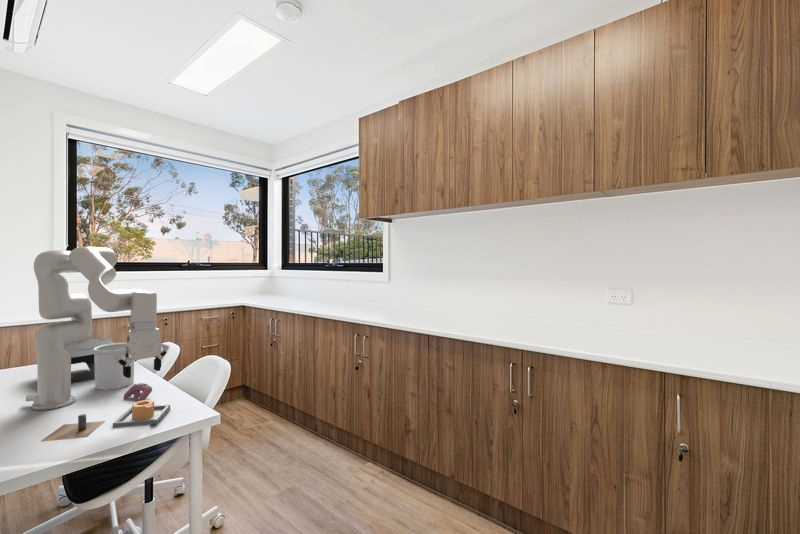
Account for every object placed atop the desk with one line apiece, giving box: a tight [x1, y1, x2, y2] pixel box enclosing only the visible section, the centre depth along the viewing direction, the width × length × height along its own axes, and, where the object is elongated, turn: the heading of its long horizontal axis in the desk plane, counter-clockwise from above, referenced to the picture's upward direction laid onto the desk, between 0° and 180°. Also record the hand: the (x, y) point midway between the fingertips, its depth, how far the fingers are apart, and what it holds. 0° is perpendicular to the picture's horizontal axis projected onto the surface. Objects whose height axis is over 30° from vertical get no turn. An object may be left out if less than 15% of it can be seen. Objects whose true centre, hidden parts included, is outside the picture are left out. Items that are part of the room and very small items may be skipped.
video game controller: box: [122, 382, 153, 402], centre depth 151 cm, size 10×5×7 cm, turn 72°
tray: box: [112, 404, 171, 428], centre depth 132 cm, size 13×14×2 cm
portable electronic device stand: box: [64, 336, 115, 384], centre depth 179 cm, size 26×24×16 cm
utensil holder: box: [93, 342, 135, 391], centre depth 166 cm, size 15×15×18 cm
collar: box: [131, 399, 155, 421], centre depth 132 cm, size 6×8×5 cm
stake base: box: [39, 413, 106, 442], centre depth 121 cm, size 12×12×6 cm
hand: (142, 373), depth 132 cm, fingers open, 9 cm apart
